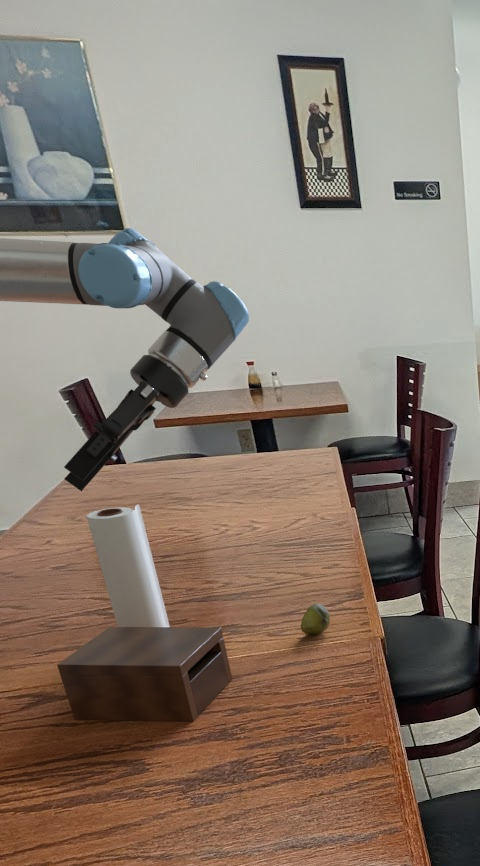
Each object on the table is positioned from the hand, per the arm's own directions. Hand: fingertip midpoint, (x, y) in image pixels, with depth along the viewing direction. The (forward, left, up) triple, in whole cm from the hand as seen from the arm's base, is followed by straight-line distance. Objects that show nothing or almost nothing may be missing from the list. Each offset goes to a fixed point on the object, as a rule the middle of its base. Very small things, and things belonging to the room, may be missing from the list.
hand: (72, 480), depth 117 cm
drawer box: (+15, -18, -26) cm, 35 cm away
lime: (+30, +4, -26) cm, 40 cm away
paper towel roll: (+5, -1, -26) cm, 26 cm away
